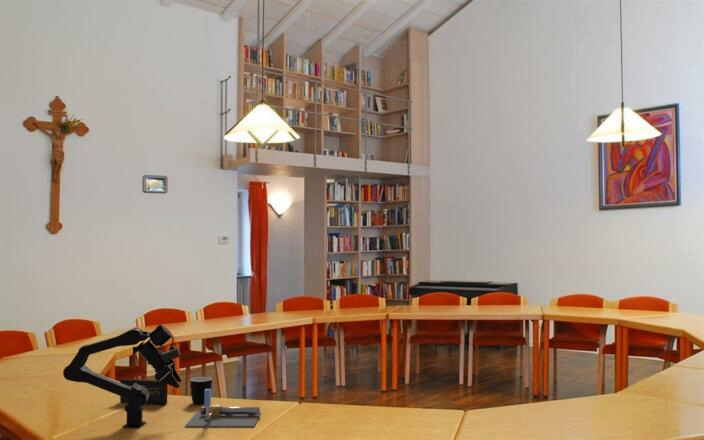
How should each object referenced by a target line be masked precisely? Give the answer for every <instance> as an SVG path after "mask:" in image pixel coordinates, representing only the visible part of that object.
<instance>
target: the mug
mask: <svg viewBox="0 0 704 440" xmlns="http://www.w3.org/2000/svg"><path fill="white" fill-rule="evenodd" d="M212 380H213V379H212V377H209V376H196V377H192V378H191V379H190V384H189V385H190V397H191V401H192V403H193V404H194V405H199V406H201V405H202V406H204V393H205V389H211V390H212V388H213V387H212V384H213V381H212Z"/></svg>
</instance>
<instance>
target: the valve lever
mask: <svg viewBox="0 0 704 440" xmlns="http://www.w3.org/2000/svg"><path fill="white" fill-rule="evenodd" d="M211 401H212V388H211V389H205V393H204V404H203V406H205V407H206V417H205V419H204V420H205V422H209V421H210V419H211V418H210V416H209V406H210V405H211V404H212V402H211Z"/></svg>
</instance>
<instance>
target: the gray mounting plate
mask: <svg viewBox="0 0 704 440" xmlns="http://www.w3.org/2000/svg"><path fill="white" fill-rule="evenodd" d="M261 415H262V412H261V411H260V414H255V416H254V417H248V414H233V415H232V417H225V414H221V416H220V417H210V418H211V419H210V421H209V422H205V420H204V419H205V417H206V414H204V415H201V414H200V411H197V412H195V413H194V415H193V416H192V417H191V418H190V419H189V420H188V422H187V423H186V424H185V425H184V428H230V429H231V428H238V429H239V428H244V429H245V428H246V429H247V428H250V429H251V428H255V427H256V425H257V423H258V421H259V419H260V417H261Z"/></svg>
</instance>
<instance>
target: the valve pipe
mask: <svg viewBox="0 0 704 440" xmlns="http://www.w3.org/2000/svg"><path fill="white" fill-rule="evenodd" d="M199 412H200V414H201V415H204V414H206V406H204V405H202V406H201V405H200V410H199ZM260 412H261V408H260V406H222V403H220V404H219V403H218V404H217V403H216V404H215V403H214V404H213V403H211V405H210V406H209V416H210V417H220V416H221V414H225V417H232V415H233V414H248V417H254V416H255V414H260Z"/></svg>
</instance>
